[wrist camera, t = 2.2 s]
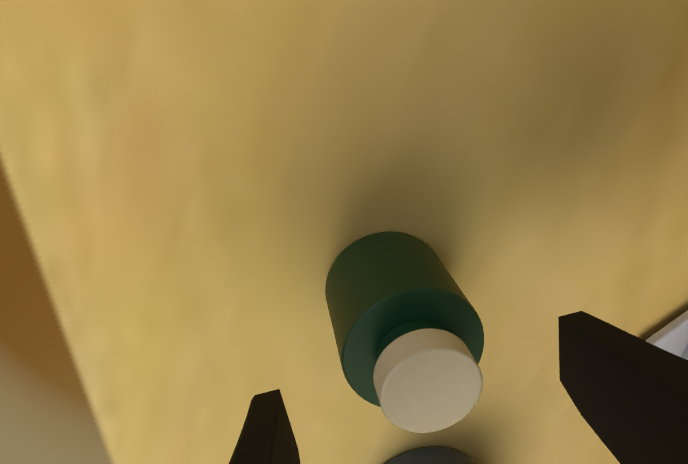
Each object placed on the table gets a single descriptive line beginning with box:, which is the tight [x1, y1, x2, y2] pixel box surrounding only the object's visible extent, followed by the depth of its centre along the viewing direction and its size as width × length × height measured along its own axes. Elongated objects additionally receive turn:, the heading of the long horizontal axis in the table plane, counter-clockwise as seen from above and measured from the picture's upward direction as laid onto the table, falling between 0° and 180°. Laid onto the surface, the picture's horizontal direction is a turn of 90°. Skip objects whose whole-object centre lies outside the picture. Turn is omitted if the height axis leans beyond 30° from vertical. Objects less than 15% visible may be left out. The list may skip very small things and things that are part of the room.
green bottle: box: [326, 232, 484, 433], centre depth 15 cm, size 4×4×5 cm
